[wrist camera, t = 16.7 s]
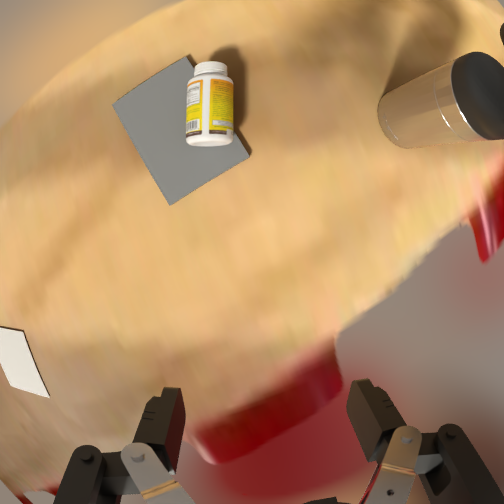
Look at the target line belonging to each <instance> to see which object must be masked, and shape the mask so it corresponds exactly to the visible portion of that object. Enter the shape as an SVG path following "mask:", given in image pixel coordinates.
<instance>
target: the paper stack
mask: <svg viewBox="0 0 504 504" xmlns="http://www.w3.org/2000/svg"><path fill="white" fill-rule="evenodd" d="M0 363H1V365H2V368H3V370H4V372H5V374H6V377H7V379H8V381H9V383H10V385H11V386H13V387H15V388H18V389H21V390H25V391H28V392H31V393H34V394H38V395H41V396H45V397H48V398H50V397H49V395H48V393H47V391H46V389H45V386H44V384H43V382H42V380H41V377H40V375H39V373H38V371H37V368H36V366H35V363H34V361H33V358H32V356H31V353H30V350H29V348H28V345H27V342H26V339H25V336H24V333H23V332H21V331H15V330H10V329H5V328H0Z"/></svg>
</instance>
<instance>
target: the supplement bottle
mask: <svg viewBox="0 0 504 504" xmlns="http://www.w3.org/2000/svg"><path fill="white" fill-rule="evenodd" d="M186 141H187V143H188V144H189V145H192V146H205V147H206V146H222V145H227V144H230V143H231V142H232V141H233V81H232V80H231V79H230V78H229V77H227V66H226V65H225V64H224V63H221V62H215V61H208V62H202V63H199V64H197V65H196V66H195V72H194V77H193V78H192V79H190V80H189V82H188V84H187V108H186Z"/></svg>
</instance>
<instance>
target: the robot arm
mask: <svg viewBox="0 0 504 504" xmlns="http://www.w3.org/2000/svg"><path fill="white" fill-rule="evenodd" d="M500 37H501V40H502V42H503V45H504V23H503V24H502V26H501V28H500ZM378 119H379V123H380V125H381V128H382V130H383V132H384V133H385V135H386V136H387V137H388V138H389V139H390V140H391V141H392V142H393V143H394V144H396V145H398V146H400V147H403V148H418V147H427V146H435V145H443V144H453V143H463V142H474V141H485V140H500V139H504V67H503V66H502V65H501V64H500V63H499V62H498V61H497V60H495V59H494V58H493V57H491V56H490V55H488V54H485V53H483V52H471V53H468V54H466V55H463V56H461V57H459V58H457V59H455V60H453V61H450V62H448V63H446V64H444V65H442V66H440V67H438V68H436V69H434V70H431V71H429V72H427V73H425V74H423V75H421V76H419V77H417V78H415V79H413V80H411V81H409V82H407V83H405V84H403V85H401V86H399V87H397V88H395V89H394V90H392V91H390V92H388V93H386V94H385V95H384V96H383V97H382V99H381V100H380V103H379V106H378ZM346 407H347V414H348V417H349V419H350V421H351V424H352V426H353V428H354V431H355V433H356V435H357V438H358V440H359V442H360V445H361V447H362V449H363V452H364V454H365V457H366V459H367V461H368V462H372V461H375V460H376V461H377V463H378V465H377V467H376V469H375V471H374V474H373V476H372V478H371V480H370V482H369V484H368V486H367V488H366V491H365V493H364V495H363V496H362V498H361V500H360V502H359V503H358V504H406V502H407V499H408V496H409V493H410V490H411V487H412V484H413V481H414V478H415V474H418V475H419V477H420V479H421V482H422V484H423V486H424V489H425V491H426V493H427V495H428V498H429V500H430V503H431V504H504V496H503V494H502V492H501V491H500V489H499V487H498V485H497V484H496V482H495V480H494V479H493V478H492V475H491V474H490V472H489V470H488V469H487V467H486V466H485V464H484V462H483V461H482V459H481V458H480V456H479V455H478V453H477V451H476V450H475V448H474V447H473V445H472V444H471V442H470V441H469V439H468V437H467V436H466V434H465V433H464V432H463V430H462V429H461V428H460V427H459V426H457V425H455V424H445V425H443V426H441V427H440V429H439V430H438V432H436V433H421V432H420V431H419V430H418V429H417V428H415V427H412V426H407V425H406V423H405V421H404V420H403V418H402V417H401V415H400V413H399V412H398V410H397V409H396V407H395V406H394V404H393V402H392V401H391V400H390V397H389V396H388V394H387V393H386V392H385V391H384V390H383V389H381V388H379V387H374V386H373V385H372V383H371V382H370V380H369V379H361V380H354V381H353V382H352V384H351V388H350V392H349V396H348V400H347V406H346ZM141 418H142V419H141V420H140V423H139V426H138V428H137V431H136V434H135V437H134V440H133V442H132V443H131V444H129V445H127V446H125V447H124V448H123V450H122V451H120V452H111V453H101V452H100V450H99V449H98V448H96V447H94V446H91V445H83V446H80V447H78V448H77V449H75V451H74V452H73V454H72V456H71V459H70V461H69V463H68V466H67V468H66V471H65V473H64V476H63V479H62V481H61V484H60V486H59V489H58V492H57V494H56V497H55V500H54V503H53V504H120V502H121V497H122V495H126V494H140V493H141V494H142V496H143V498H144V499H145V501H146V502H147V504H195V502H194V501H193V500H192V499H191V498H190V496H189V495H188V494H187V493H186V492H185V490H184V489H183V488H182V487H181V485H180V484H179V483H178V482H175V481H174V479H173V478H172V477H171V475H170V474H173V475H175V474H176V469H177V463H178V458H179V452H180V447H181V442H182V436H183V431H184V426H185V419H186V414H185V407H184V402H183V397H182V392H181V389H180V388H174V387H164V388H163V391H162V394H161V397H155V396H153V397H152V398H151V399H150V400H149V401H148V402H147V404H146V406H145V409H144V413H143V414H142V417H141ZM304 504H349V503H342V502H337V499H336V497H332V498H326V499H320V500H314V501H310V502H307V503H304Z"/></svg>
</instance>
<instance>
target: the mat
mask: <svg viewBox="0 0 504 504" xmlns="http://www.w3.org/2000/svg"><path fill="white" fill-rule="evenodd" d="M194 72H195V69H194V68H193V66H192V65H191V63H190V62H189V60H188V59H187V57H184V58H182V59H181V60H179V61H177V62H176V63H174V64H172V65H170V66H169V67H167V68H165V69H164V70H162V71H161V72H159V73H157V74H156V75H154V76H153V77H151V78H149V79H148V80H146V81H145V82H143V83H142V84H140V85H139V86H137V87H136V88H135V89H133V90H132V91H130V92H129V93H127V94H126V95H125V96H123V97H122V98H120V99H119V100H118V101H116V102H115V103H114V104H112V106H113V108H114V110H115V111H116V113H117V115H118V117H119V119H120V121H121V122H122V124H123V126H124V128H125V130H126V131H127V133H128V135H129V137H130V139H131V140H132V142H133V144H134V146H135V147H136V149H137V151H138V153H139V154H140V156H141V158H142V160H143V161H144V163H145V165H146V167H147V168H148V170H149V172H150V173H151V175H152V177H153V179H154V180H155V182H156V184H157V185H158V187H159V189H160V190H161V192H162V194H163V195H164V197H165V199H166V200H167V202H168V204H169V205H172V204H174V203H175V202H177V201H178V200H180V199H181V198H183V197H184V196H186V195H188V194H189V193H191V192H192V191H194V190H196V189H197V188H199V187H200V186H202V185H204V184H205V183H207V182H208V181H210V180H212V179H213V178H215V177H217V176H218V175H220V174H222V173H223V172H225V171H227V170H228V169H230V168H232V167H234V166H235V165H237V164H239V163H240V162H242V161H244V160H246V159H247V158H249V157H250V156H249V155H248V153H247V151H246V150H245V148H244V146H243V145H242V143H241V141H240V140H239V138H238V137H237V135H236V133H235V132H234V130H233V141H232V142H231V143H230V144H227V145H222V146H206V147H205V146H192V145H189V144H188V143H187V141H186V108H187V84H188V82H189V80H190V79H192V78H193V77H194Z"/></svg>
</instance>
